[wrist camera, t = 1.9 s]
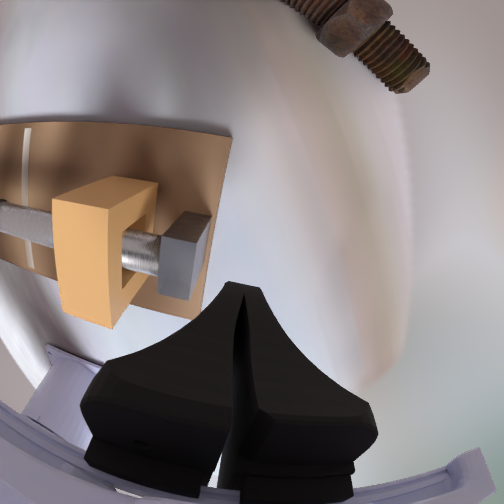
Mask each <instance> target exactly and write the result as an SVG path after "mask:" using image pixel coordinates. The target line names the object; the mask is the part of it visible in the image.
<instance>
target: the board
mask: <svg viewBox="0 0 504 504" xmlns="http://www.w3.org/2000/svg"><path fill="white" fill-rule="evenodd" d="M232 139H233V138H230V137H225V136H219V135H213V134H207V133H201V132H195V131H188V130H181V129H173V128H165V127H156V126H146V125H136V124H123V123H106V122H32V123H16V124H5V125H0V199H5V200H7V201H8V202H10V203H15V204H19V205H24V206H28V207H33V208H37V209H42V210H47V211H51V212H52V198H55V197H57V196H59V195H62V194H64V193H67V192H69V191H72V190H74V189H77V188H80V187H82V186H85V185H88V184H90V183H93V182H96V181H99V180H102V179H105V178H107V177H110V176H118V177H125V178H132V179H138V180H144V181H150V182H156V183H158V190H157V198H156V207H155V216H154V226H153V234H157V235H163V234H164V232H165V231H166V230H167V229H168V228H169V227H170V226H171V225H172V224H173V223H174V222H175V221H176V220H177V219H178V218H179V216H180V215H181V214H182V213H183V212H184V211H189V212H194V213H199V214H204V215H209V216H212V220H211V226H210V231H209V237H208V243H207V249H206V255H205V261H204V265H203V267H202V270H201V272H200V275H199V277H198V280H197V282H196V285H195V287H194V290H193V292H192V295H191V297H190V300H189V301H186V300H181V299H177V298H173V297H169V296H165V295H161V294H157V287H158V277H157V276H153V275H149V276H148V278H147V279H146V280H145V282H144V283H143V285H142V286H141V287H140V289H139V290H138V292H137V293H136V295H135V296H134V297H133V299H132V300H131V302H130V303H129V304H132V305H135V306H139V307H142V308H146V309H150V310H154V311H158V312H161V313H165V314H169V315H173V316H178V317H182V318H186V319H190V320H193V319H194V318H195V317H197V316H198V315H199V314H200V313H201V306H202V300H203V293H204V287H205V281H206V275H207V269H208V263H209V257H210V251H211V245H212V239H213V234H214V228H215V223H216V218H217V212H218V207H219V202H220V197H221V192H222V187H223V182H224V177H225V172H226V167H227V162H228V157H229V153H230V148H231V144H232ZM0 259H3V260H5V261H7V262H10V263H12V264H14V265H17V266H19V267H22V268H24V269H27V270H29V271H32V272H35V273H37V274H40V275H42V276H45V277H48V278H51V279H53V280H56V281H58V278H57V271H56V262H55V253H54V249H53V248H50V247H47V246H43V245H40V244H37V243H34V242H30V241H27V240H24V239H21V238H18V237H15V236H12V235H9V234H6V233H3V232H0Z"/></svg>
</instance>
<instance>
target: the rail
mask: <svg viewBox="0 0 504 504" xmlns="http://www.w3.org/2000/svg"><path fill="white" fill-rule="evenodd" d="M211 220H212V216H209V215H204V214H199V213H194V212H189V211H184V212H183V213H182V214H181V215H180V216H179V218H178V219H177V220H176V221H175V222H174V223H173V224H172V225H171V226H170V227H169V228H168V229H167V230H166V231H165V232H164V234H163V235H157V234H153V233H148V232H144V231H139V230H134V229H130V228H127V229H125V230H124V231H123V233H122V268H125V269H129V270H133V271H137V272H141V273H145V274H149V275H153V276H157V277H158V287H157V294H161V295H165V296H169V297H173V298H177V299H181V300H186V301H189V300H190V297H191V295H192V292H193V290H194V287H195V285H196V282H197V280H198V277H199V275H200V272H201V270H202V267H203V265H204V261H205V255H206V249H207V243H208V237H209V231H210V226H211ZM0 232H3V233H6V234H9V235H12V236H15V237H18V238H21V239H24V240H27V241H30V242H34V243H37V244H40V245H43V246H47V247H50V248H53V249H54V241H53V223H52V212H51V211H47V210H42V209H37V208H33V207H28V206H24V205H19V204H15V203H10V202H8V201H7V200H5V199H0Z"/></svg>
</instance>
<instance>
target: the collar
mask: <svg viewBox="0 0 504 504" xmlns="http://www.w3.org/2000/svg"><path fill="white" fill-rule="evenodd" d="M157 190H158V183H156V182H150V181H144V180H138V179H132V178H125V177H118V176H110V177H107V178H105V179H102V180H99V181H96V182H93V183H90V184H88V185H85V186H82V187H80V188H77V189H74V190H72V191H69V192H67V193H64V194H62V195H59V196H57V197H55V198H52V223H53V241H54V253H55V262H56V271H57V278H58V285H59V292H60V298H61V303H62V309H63V312H65V313H68V314H70V315H73V316H75V317H78V318H81V319H84V320H86V321H89V322H92V323H95V324H98V325H101V326H104V327H107V328H110V329H113V327H114V326H115V324H116V323H117V321H118V320H119V318H120V317H121V315H122V314H123V312H124V311H125V309H126V308H127V306H128V305H129V303H130V302H131V300H132V299H133V297H134V296H135V295H136V293H137V292H138V290H139V289H140V287H141V286H142V285H143V283H144V282H145V280H146V279H147V278H148V276H149V274H145V273H141V272H137V271H133V270H129V269H125V268H122V233H123V231H124V230H125V229H127V228H130V229H134V230H139V231H144V232H148V233H153V226H154V216H155V207H156V198H157Z"/></svg>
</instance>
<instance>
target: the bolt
mask: <svg viewBox="0 0 504 504" xmlns="http://www.w3.org/2000/svg"><path fill="white" fill-rule="evenodd" d="M280 1H281V2H284V3H285V4H286V5H290V8H295V10H296V11H300V14H301V15H304V14H305V18H310V21H311V22H312V21H315V25H320V27H321V28H320V30H319V31H318V32H317V34H316V38H317V39H318V41H319V42H321V43H322V44H323V45H325V46H326V47H327V48H328V49H329V50H331V51H332V52H333V53H334V54H336V55H337V56H339V57H345V56H346V55H347V54H349V53H350V52H354V56H355V57H356V56H359V61H363V65H368V69H372V73H376V77H377V78H381V82H382V83H385V87H389V91H394V92H395V94H399V93H406V92H409V91H410V90H411V89H413V88H414V87H415V86H416V85H417V84H418V83H420V82H421V81H422V80H423V79H424V78H425V77H426V76H427V75H429V72H430V63H429V62H427V61H426V58H425V57H422V54H421V53H419V52H418V49H416V48H413V47H414V45H413V44H410V43H409V40H408V39H405V36H404V35H401V34H400V31H399V30H395V26H392V25H390V21H387V20H388V19H389V18H390V17H391V16H392V14H393V10H392V8H391V6H390V5H389V4H388V3H387V2H386V1H384V0H280Z"/></svg>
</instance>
